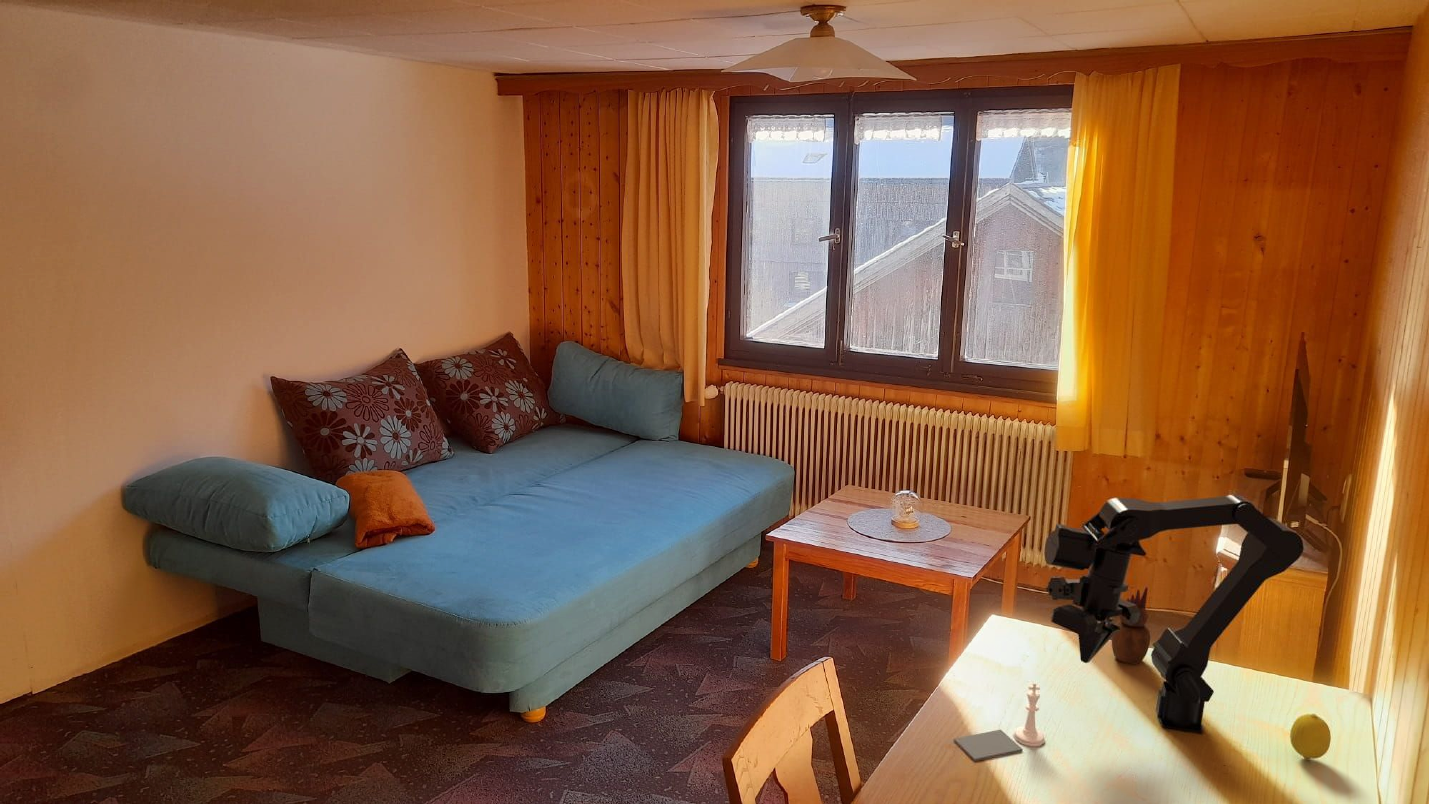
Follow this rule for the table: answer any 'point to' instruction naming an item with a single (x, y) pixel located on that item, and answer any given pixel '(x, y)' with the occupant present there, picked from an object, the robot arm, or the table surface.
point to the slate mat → (988, 745)
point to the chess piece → (1030, 721)
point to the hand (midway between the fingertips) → (1084, 661)
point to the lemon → (1310, 736)
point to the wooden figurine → (1132, 634)
